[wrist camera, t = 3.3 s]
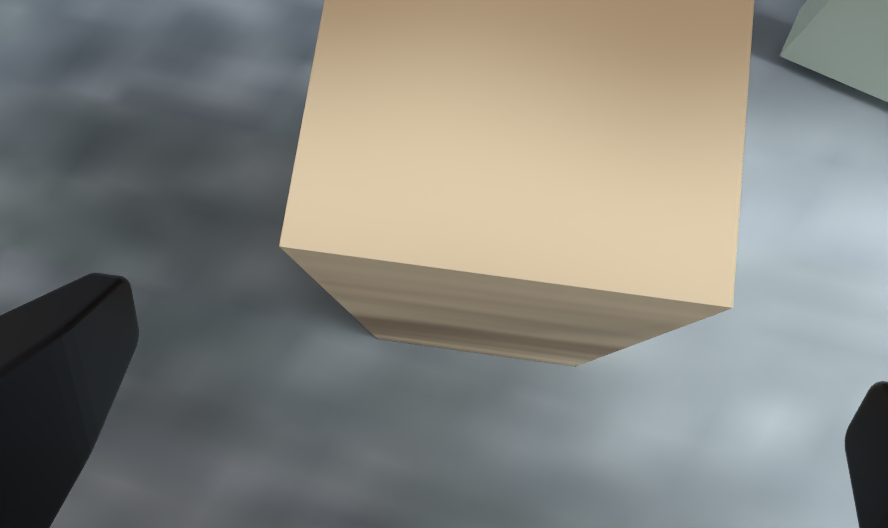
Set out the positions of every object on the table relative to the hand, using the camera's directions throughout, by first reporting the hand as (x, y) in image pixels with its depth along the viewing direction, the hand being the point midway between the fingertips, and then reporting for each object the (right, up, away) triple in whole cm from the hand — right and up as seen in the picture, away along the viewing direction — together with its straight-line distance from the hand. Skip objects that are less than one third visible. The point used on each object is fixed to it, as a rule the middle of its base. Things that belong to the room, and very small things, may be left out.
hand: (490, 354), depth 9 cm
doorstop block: (+1, +1, +10) cm, 10 cm away
